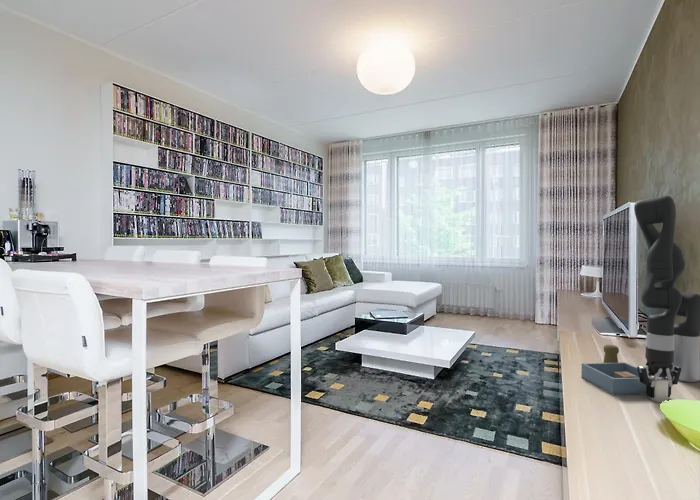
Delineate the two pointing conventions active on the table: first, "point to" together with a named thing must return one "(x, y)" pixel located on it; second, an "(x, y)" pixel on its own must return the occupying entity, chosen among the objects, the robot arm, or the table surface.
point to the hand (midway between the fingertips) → (658, 396)
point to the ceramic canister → (660, 390)
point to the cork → (610, 354)
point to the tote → (616, 386)
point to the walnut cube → (623, 375)
